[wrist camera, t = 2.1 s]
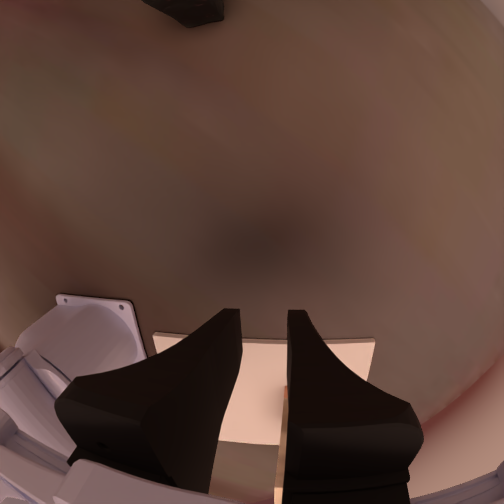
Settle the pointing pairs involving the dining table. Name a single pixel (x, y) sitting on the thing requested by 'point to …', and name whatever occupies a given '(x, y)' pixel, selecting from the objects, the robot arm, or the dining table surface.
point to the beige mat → (269, 384)
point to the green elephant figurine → (190, 10)
